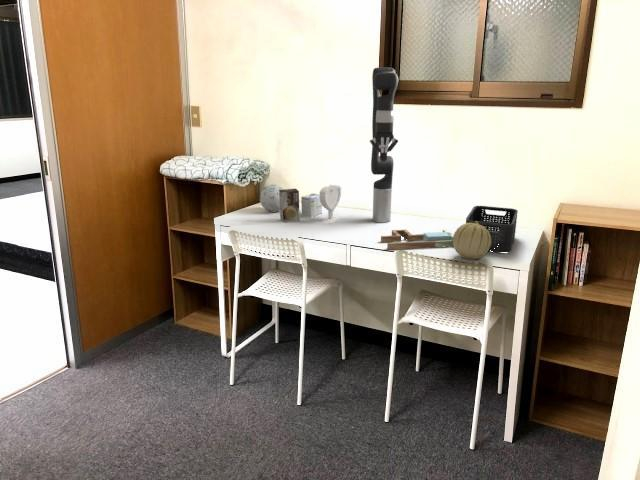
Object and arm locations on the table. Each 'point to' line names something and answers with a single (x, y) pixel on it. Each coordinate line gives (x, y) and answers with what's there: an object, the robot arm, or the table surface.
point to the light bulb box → (311, 205)
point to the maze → (409, 245)
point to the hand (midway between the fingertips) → (383, 161)
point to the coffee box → (289, 205)
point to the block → (436, 236)
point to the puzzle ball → (271, 198)
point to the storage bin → (496, 226)
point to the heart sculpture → (330, 200)
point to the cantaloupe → (471, 240)
